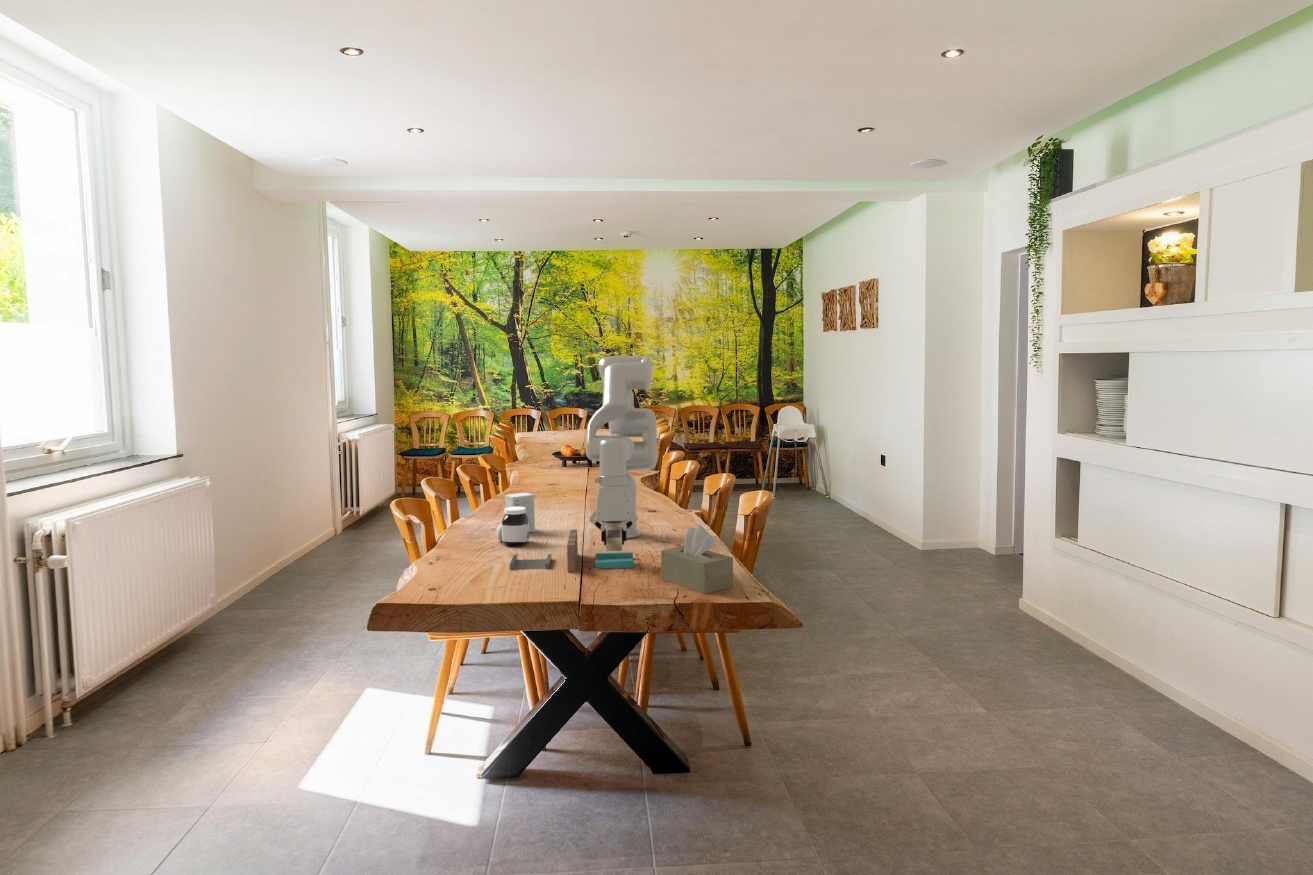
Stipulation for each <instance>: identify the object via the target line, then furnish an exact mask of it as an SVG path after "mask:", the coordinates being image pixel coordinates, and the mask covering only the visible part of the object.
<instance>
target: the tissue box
mask: <svg viewBox="0 0 1313 875" xmlns="http://www.w3.org/2000/svg"><path fill="white" fill-rule="evenodd" d="M717 542H718V539H716V538H715V537H714V536H713V535H712V534H711V533H710V532H709V531H707V529H706V528H705V527H704V526H702V525H700V524H696V527H695V528H694V527H691V526H690V527H688V528H687V530H686V534H685V537H684V545H682V546H677V547H671V548H666V549H661V551H660V554H661V557H660V559H661V560H660V561H661V563H660V564H661V565H660V566H661V568H660V569H661V570H660V571H661V572H660V574H661V580H663V579H665V580H664V581H667V582H669V581H670V583H671V584H675V585H677V584H678V586H680V585H681V586H680V587H683V586H685V587H684V588H685V589H689V588H690V589H689V590H692V591H694V590H695V592H698V593H700V594H703V595H706V594H711V593H715V592H719V591H724V590H728V589H732V588H733V587H734V558H733V557H731V556H728V555H726V554H725V555H724V554H721V553H719V552H718V553H717V552H714V551H710V550H709V549H711V548H713V547H714V545H715V544H716V543H717Z"/></svg>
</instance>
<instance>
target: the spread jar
mask: <svg viewBox="0 0 1313 875" xmlns="http://www.w3.org/2000/svg"><path fill="white" fill-rule="evenodd" d="M494 535H495V539H497V540H498V541H500V542H502V543H503V544H504V545H505V546H506V545H508V546H507V547H513V546H515V547H522V546H521V545H523V546H526V545H527V544H529V540H530V532H529V518H528V516H527V514H526V508H525V507H508V508H504V515H503V518H502V520H501V523H500V524H499V525H498V526H497V527H496V529H495V534H494Z"/></svg>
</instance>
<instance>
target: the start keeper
mask: <svg viewBox="0 0 1313 875" xmlns="http://www.w3.org/2000/svg"><path fill="white" fill-rule="evenodd" d="M551 563H552V554H551V553H548V554H547V557H546V559H545V558H542V559H541V558H540V559H539V558H536V559H535V558H534V559H533V558H532V559H519V558H518V554H514V555H513V557H512V559H511V561H510V562H509V570H510V571H512V570H513V571H514V570H517V571H518V570H519V571H520V570H549V569H550V566H551Z"/></svg>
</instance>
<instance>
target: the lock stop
mask: <svg viewBox="0 0 1313 875" xmlns="http://www.w3.org/2000/svg"><path fill="white" fill-rule="evenodd" d="M605 528H606V545H605V551H606V552H623V545H622V522H606V525H605Z"/></svg>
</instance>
